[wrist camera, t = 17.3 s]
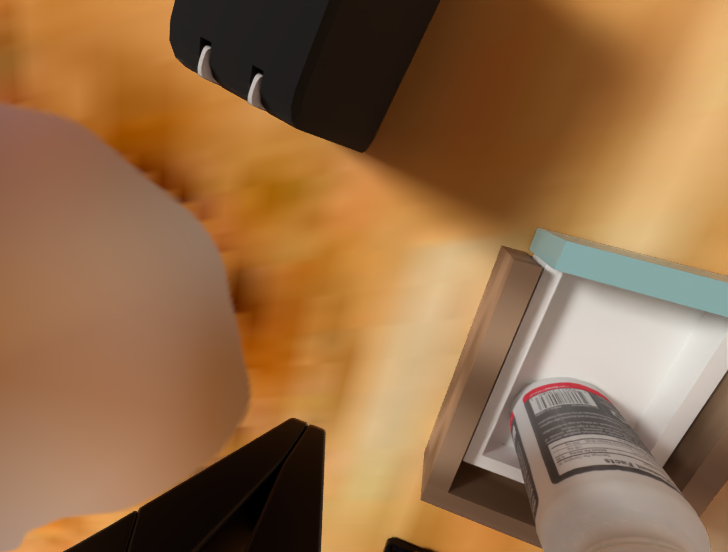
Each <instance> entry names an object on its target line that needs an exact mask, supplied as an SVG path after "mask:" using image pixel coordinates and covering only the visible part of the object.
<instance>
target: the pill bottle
mask: <svg viewBox="0 0 728 552" xmlns="http://www.w3.org/2000/svg"><path fill="white" fill-rule="evenodd" d="M508 421H509V427H510V431H511V435H512V439H513V443H514V447H515V450H516V453H517V457H518V461H519V465H520V469H521V472H522V476H523V480H524V484H525V487H526V491H527V495H528V499H529V503H530V506H531V511H532V515H533V519H534V522H535V528H536V532H537V535H538V538H539V541H540V543H541V546H542V549H543V551H544V552H711V546H710V541H709V537H708V533H707V531H706V529H705V527H704V525H703V523H702V521H701V519H700V518H699V516H698V515H697V513H696V511H695V510H694V508H693V507H692V506H691V504H690V503H689V502H688V501H687V500H686V498H685V497H684V495H683V494H682V493H681V492H680V490H679V489H678V488H677V486H676V485H675V484H674V482H673V481H672V480H671V479H670V477H669V476H668V475H667V473H666V472H665V471H664V469H663V468H662V467H661V465H660V464H659V463H658V462H657V460H656V459H655V458H654V457H653V455H652V454H651V453H650V451H649V450H648V449H647V447H646V446H645V445H644V443H643V442H642V441H641V439H640V438H639V437H638V435H637V434H636V433H635V432H634V430H633V429H632V428H631V427H630V425H629V424H628V423H627V421H626V420H625V419H624V418H623V416H622V415H621V414H620V412H619V411H618V410H617V409H616V407H615V406H614V405H613V404H612V402H611V401H610V400H609V399H608V398H607V397H606V395H605V394H603V393H602V392H601V391H600V390H599V389H597V388H596V387H594V386H593V385H591V384H589V383H587V382H584V381H581V380H578V379H574V378H569V377H552V378H545V379H542V380H538V381H536V382H533V383H531V384H530V385H528V386H526V387H525V388H523V389H522V390H521V391H520V392H519V393H518V394H517V395H516V397H515V398H514V400H513V402H512V404H511V406H510V410H509V414H508Z"/></svg>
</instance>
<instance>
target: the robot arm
mask: <svg viewBox="0 0 728 552" xmlns="http://www.w3.org/2000/svg"><path fill="white" fill-rule="evenodd" d="M325 435H326V432H325V430H324V429H322V428H319V427H317V426H314V425H309V426H308V424H307V423H306V422H304V421H301V420H299V419H296V418H290V419H288V420H287V421H285V422H283V423H282V424H280V425H278V426H277V427H275V428H273V429H272V430H270V431H268V432H267V433H265V434H263V435H262V436H260V437H258V438H257V439H255V440H253V441H251V442H250V443H248V444H246V445H245V446H243V447H241V448H240V449H238V450H236V451H235V452H233V453H231V454H230V455H228V456H226V457H225V458H223V459H221V460H220V461H218V462H216V463H214V464H213V465H211V466H209V467H208V468H206V469H204V470H203V471H201V472H199V473H198V474H196V475H194V476H193V477H191V478H189V479H188V480H186V481H184V482H183V483H181V484H179V485H177V486H176V487H174V488H172V489H171V490H169V491H167V492H166V493H164V494H162V495H161V496H159V497H157V498H156V499H154V500H152V501H151V502H149V503H147V504H146V505H144V506H142V507H141V508H139V510H138V512H137V511H133V512H132V513H130V514H128V515H127V516H125V517H123V518H122V519H120V520H118V521H117V522H115V523H113V524H112V525H110V526H108V527H106V528H105V529H103V530H101V531H99V532H97V533H96V534H94V535H92V536H90V537H89V538H87V539H85V540H83V541H82V542H80V543H78V544H76V545H75V546H73V547H71V548H69V549H67V550H65V551H63V552H321V536H322V511H323V486H324V461H325ZM383 552H425V551H423V550H420V549H418V548H416V547H413V546H411V545H409V544H406V543H404V542H401V541H399V540H397V539H394V538H389V539H388V540H387V542H386V545H385V547H384V550H383Z"/></svg>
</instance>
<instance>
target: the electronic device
mask: <svg viewBox="0 0 728 552" xmlns="http://www.w3.org/2000/svg"><path fill="white" fill-rule="evenodd" d="M439 1H440V0H175V3H174V7H173V11H172V15H171V20H170V43H171V46H172V49H173V52H174V54H175V57H176V58H177V59H178V60H179V61H180V62H181V63H182V64H183V65H184V66H185V67H187V68H188V69H190V70H192V71H194V72H196V73H197V74H198V75H199V76H201V77H202V78H204V79H206V80H209V81H211V82H213V83H215V84H218V85H220V86H222V87H223V88H224V89H226V90H228V91H230V92H232V93H233V94H235V95H237V96H239V97H241V98H242V99H244V100H246V101H248V103H249V104H251V105H253V106H254V107H257V108H259V109H262V110H264V111H267V112H268V113H269V114H271V115H273V116H275V117H276V118H278V119H280V120H282V121H284V122H285V123H287V124H289V125H291V126H293V127H294V128H296V129H299V130H301V131H304V132H307V133H309V134H312V135H315V136H318V137H320V138H323V139H326V140H329V141H331V142H334V143H337V144H339V145H342V146H345V147H348V148H350V149H353V150H356V151H358V152H361V153H362V152H364V151H366V149H367V148H368V147H369V145H370V144H371V142H372V140H373V138H374V137H375V134H376V132H377V130H378V128H379V126H380V124H381V122H382V120H383V118H384V116H385V114H386V112H387V110H388V107H389V105H390V103H391V101H392V99H393V97H394V95H395V93H396V91H397V89H398V87H399V85H400V83H401V80H402V78H403V76H404V74H405V72H406V70H407V68H408V66H409V64H410V62H411V60H412V58H413V56H414V53H415V51H416V49H417V47H418V45H419V43H420V41H421V39H422V37H423V35H424V33H425V31H426V28H427V26H428V24H429V22H430V20H431V18H432V16H433V14H434V12H435V10H436V8H437V6H438V4H439Z"/></svg>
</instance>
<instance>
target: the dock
mask: <svg viewBox="0 0 728 552" xmlns="http://www.w3.org/2000/svg"><path fill="white" fill-rule="evenodd" d="M542 269H543V267H541V266H540V265H539V264H538V263H537V262H536V261H534V260H533V259H532V258H531V257H530V256H529V255H528V254H526V253H525V252H523V251H519V250H516V249H512V248H508V247H504V246H501V249H500V252H499V254H498V257H497V260H496V262H495V265H494V268H493V270H492V273H491V276H490V279H489V281H488V284H487V287H486V289H485V292H484V295H483V297H482V300H481V303H480V305H479V308H478V311H477V313H476V316H475V319H474V321H473V324H472V327H471V329H470V332H469V335H468V337H467V340H466V343H465V345H464V348H463V351H462V353H461V356H460V359H459V362H458V364H457V367H456V370H455V372H454V375H453V378H452V380H451V383H450V386H449V388H448V391H447V394H446V396H445V399H444V402H443V404H442V407H441V410H440V412H439V415H438V418H437V420H436V423H435V426H434V428H433V431H432V434H431V436H430V439H429V442H428V444H427V447H426V450H425V453H424V465H423V477H422V489H421V500H422V501H425V502H427V503H430V504H432V505H435V506H437V507H440V508H442V509H445V510H447V511H450V512H452V513H455V514H457V515H460V516H462V517H465V518H467V519H470V520H472V521H475V522H477V523H480V524H482V525H484V526H487V527H489V528H492V529H494V530H497V531H499V532H502V533H504V534H507V535H509V536H512V537H514V538H517V539H519V540H522V541H524V542H527V543H529V544H532V545H534V546H537V547H539V548H542V546H541V543H540V541H539V538H538V535H537V532H536V528H535V522H534V519H533V515H532V511H531V506H530V503H529V499H528V495H527V491H526V487H525V484H524V483H521V482H518V481H516V480H513V479H510V478H508V477H505V476H502V475H499V474H497V473H494V472H491V471H489V470H486V469H483V468H481V467H478V466H475V465H473V464H470V463H467V462H465V461H463V456H464V453H465V451H466V449H467V446H468V444H469V442H470V439H471V437H472V434H473V432H474V430H475V427H476V425H477V423H478V420H479V418H480V415H481V413H482V411H483V408H484V406H485V404H486V401H487V399H488V396H489V394H490V392H491V389H492V387H493V385H494V382H495V380H496V378H497V375H498V373H499V370H500V368H501V366H502V363H503V361H504V359H505V356H506V354H507V351H508V349H509V347H510V344H511V342H512V340H513V337H514V335H515V333H516V330H517V328H518V325H519V323H520V321H521V318H522V316H523V314H524V311H525V309H526V306H527V304H528V302H529V299H530V297H531V295H532V292H533V290H534V287H535V285H536V283H537V280H538V278H539V276H540V273H541V271H542ZM662 468H663V469H664V471H665V472H666V473H667V475H668V476H669V477H670V479H671V480H672V481H673V482H674V484H675V485H676V486H677V488H678V489H679V490H680V492H681V493H682V494H683V495H684V497H685V498H686V500H687V501H688V502H689V503H690V504H691V506H692V507H693V508H694V510H695V511H696V513H697V515H698V516H699V517H700V515H701V514H702V513H703V511H704V510H705V509H706V507H707V506H708V505H709V503H710V502H711V501H712V500H713V498H714V497H715V496H716V494H717V493H718V492H719V490H720V489H721V488H722V486H723V485H724V484H725V482H726V481H727V480H728V370H727V372H726V373H725V375H724V376H723V378H722V379H721V381H720V382H719V384H718V385H717V387H716V388H715V389H714V391H713V392H712V394H711V395H710V397H709V398H708V400H707V401H706V403H705V404H704V406H703V407H702V409H701V410H700V412H699V413H698V415H697V416H696V418H695V419H694V421H693V422H692V424H691V425H690V427H689V428H688V430H687V431H686V433H685V434H684V436H683V437H682V439H681V440H680V442H679V443H678V445H677V446H676V448H675V449H674V451H673V452H672V454H671V455H670V457H669V458H668V460H667V461H666V463H665V464H664V466H663V467H662Z"/></svg>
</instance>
